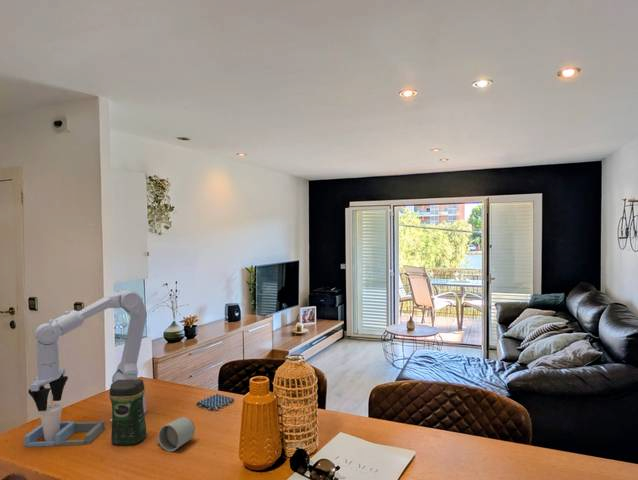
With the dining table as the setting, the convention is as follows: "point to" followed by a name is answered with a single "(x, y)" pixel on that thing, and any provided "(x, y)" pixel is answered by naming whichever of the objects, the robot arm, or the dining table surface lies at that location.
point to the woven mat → (215, 402)
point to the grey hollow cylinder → (176, 433)
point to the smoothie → (51, 420)
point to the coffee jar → (127, 412)
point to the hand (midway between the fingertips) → (49, 405)
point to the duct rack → (66, 434)
